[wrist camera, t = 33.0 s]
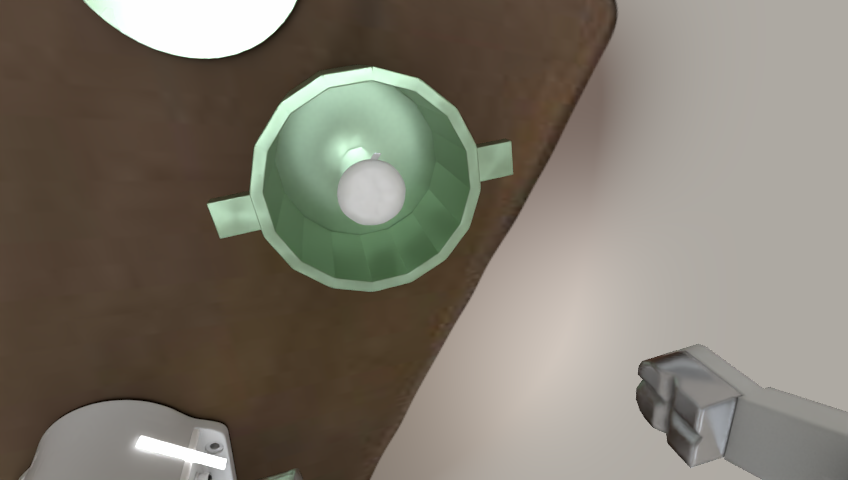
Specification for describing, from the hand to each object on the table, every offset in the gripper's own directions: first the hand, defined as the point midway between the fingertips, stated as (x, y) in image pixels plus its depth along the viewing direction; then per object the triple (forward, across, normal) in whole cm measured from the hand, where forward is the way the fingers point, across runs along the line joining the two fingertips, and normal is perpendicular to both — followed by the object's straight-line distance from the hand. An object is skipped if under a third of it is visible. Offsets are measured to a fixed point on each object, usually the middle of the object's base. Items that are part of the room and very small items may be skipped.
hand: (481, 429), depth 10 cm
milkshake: (+29, 0, 0) cm, 29 cm away
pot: (+29, 0, 0) cm, 29 cm away
